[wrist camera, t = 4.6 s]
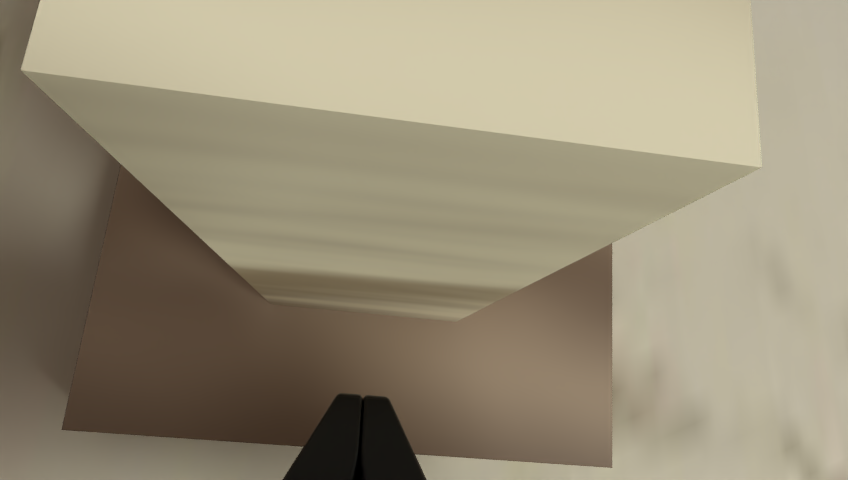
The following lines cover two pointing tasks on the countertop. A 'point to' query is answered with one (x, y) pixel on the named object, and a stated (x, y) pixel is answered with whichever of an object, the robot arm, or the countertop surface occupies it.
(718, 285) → the countertop surface
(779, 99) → the countertop surface
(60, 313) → the countertop surface
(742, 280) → the countertop surface
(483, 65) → the cream tall rectangular block
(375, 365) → the board
